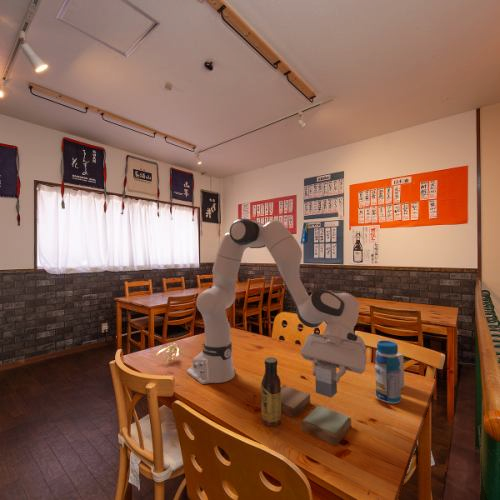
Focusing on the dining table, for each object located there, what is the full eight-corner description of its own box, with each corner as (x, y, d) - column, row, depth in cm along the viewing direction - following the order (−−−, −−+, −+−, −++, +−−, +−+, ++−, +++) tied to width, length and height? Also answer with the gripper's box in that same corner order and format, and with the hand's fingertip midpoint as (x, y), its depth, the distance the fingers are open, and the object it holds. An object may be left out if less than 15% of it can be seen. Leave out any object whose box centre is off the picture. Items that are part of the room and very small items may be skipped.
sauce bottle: (260, 416, 90) (259, 355, 90) (279, 415, 91) (278, 354, 91) (263, 428, 84) (262, 363, 84) (283, 427, 84) (282, 362, 84)
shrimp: (154, 370, 133) (150, 356, 130) (169, 349, 146) (165, 335, 143) (176, 372, 130) (172, 357, 127) (189, 350, 144) (185, 336, 141)
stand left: (266, 405, 96) (266, 397, 96) (284, 393, 105) (284, 385, 105) (294, 417, 89) (293, 408, 89) (310, 403, 98) (310, 394, 98)
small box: (404, 387, 107) (404, 354, 108) (393, 391, 105) (393, 357, 105) (386, 379, 115) (385, 348, 115) (375, 382, 112) (375, 350, 112)
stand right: (301, 429, 83) (301, 419, 83) (318, 413, 91) (317, 404, 91) (336, 446, 76) (336, 435, 76) (351, 426, 84) (351, 416, 84)
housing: (315, 392, 84) (315, 366, 84) (321, 387, 87) (321, 362, 87) (331, 397, 81) (330, 370, 81) (336, 392, 84) (336, 366, 84)
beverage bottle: (400, 407, 94) (399, 348, 94) (373, 400, 99) (372, 344, 99) (402, 396, 101) (401, 341, 101) (377, 390, 106) (376, 338, 106)
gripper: (305, 327, 96) (291, 364, 88) (366, 338, 83) (355, 383, 75) (312, 337, 99) (298, 373, 92) (371, 349, 86) (361, 393, 78)
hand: (325, 378), depth 83 cm, fingers closed on housing, 5 cm apart
